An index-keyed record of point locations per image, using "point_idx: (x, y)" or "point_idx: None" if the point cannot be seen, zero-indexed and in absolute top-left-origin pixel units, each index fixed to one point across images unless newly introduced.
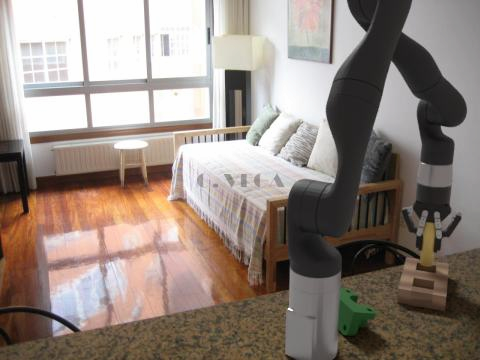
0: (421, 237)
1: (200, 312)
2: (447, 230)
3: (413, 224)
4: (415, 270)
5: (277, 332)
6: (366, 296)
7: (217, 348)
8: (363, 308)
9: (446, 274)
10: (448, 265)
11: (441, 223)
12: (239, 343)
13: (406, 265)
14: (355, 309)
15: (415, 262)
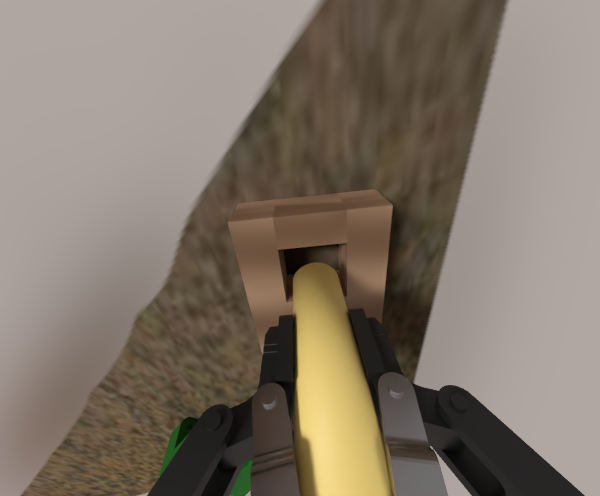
0: (293, 406)
1: (43, 468)
2: (458, 477)
3: (218, 459)
4: (287, 305)
5: (161, 461)
6: (212, 363)
7: (132, 490)
8: (247, 477)
9: (380, 290)
10: (390, 222)
11: (437, 475)
12: (143, 481)
13: (251, 286)
14: (239, 490)
15: (272, 250)
